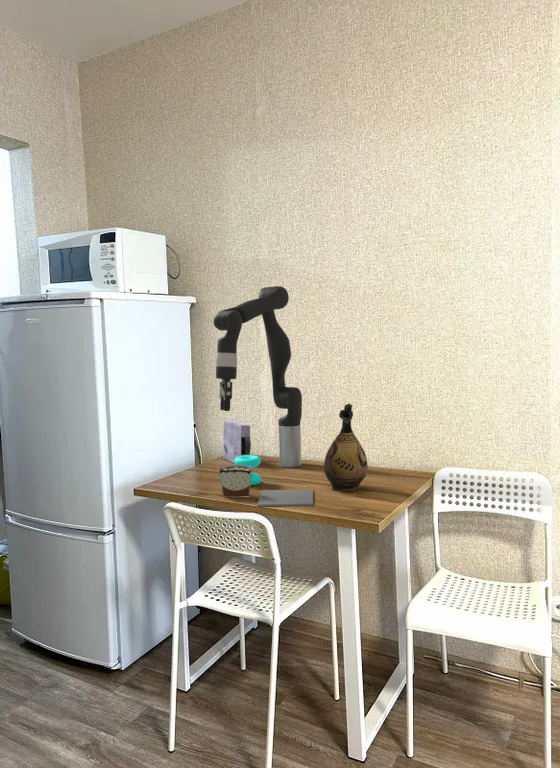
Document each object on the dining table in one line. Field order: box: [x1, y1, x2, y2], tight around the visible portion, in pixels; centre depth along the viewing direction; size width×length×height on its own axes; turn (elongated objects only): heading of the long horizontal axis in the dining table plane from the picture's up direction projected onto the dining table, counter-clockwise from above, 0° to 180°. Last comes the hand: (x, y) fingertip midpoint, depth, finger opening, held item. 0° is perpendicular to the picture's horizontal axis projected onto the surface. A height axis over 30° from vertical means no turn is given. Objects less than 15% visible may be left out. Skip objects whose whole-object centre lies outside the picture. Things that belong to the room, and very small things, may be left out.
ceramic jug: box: [323, 403, 369, 493], centre depth 216 cm, size 17×15×30 cm
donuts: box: [233, 454, 263, 487], centre depth 227 cm, size 10×10×10 cm
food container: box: [217, 464, 254, 497], centre depth 211 cm, size 12×6×10 cm, turn 80°
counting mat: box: [257, 489, 314, 507], centre depth 205 cm, size 18×18×1 cm
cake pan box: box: [222, 419, 252, 464], centre depth 266 cm, size 19×5×18 cm, turn 30°
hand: (225, 410), depth 220 cm, fingers open, 8 cm apart
